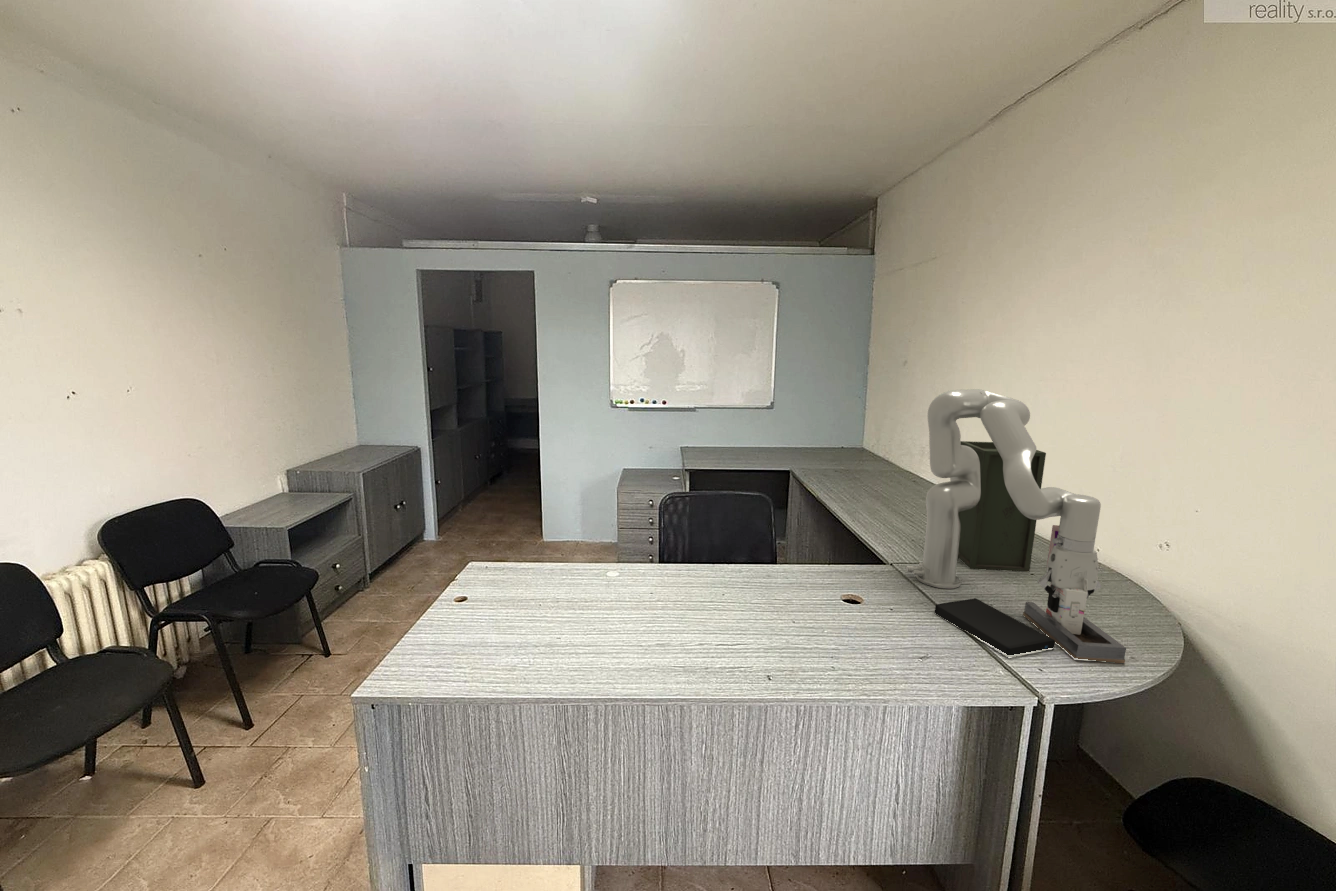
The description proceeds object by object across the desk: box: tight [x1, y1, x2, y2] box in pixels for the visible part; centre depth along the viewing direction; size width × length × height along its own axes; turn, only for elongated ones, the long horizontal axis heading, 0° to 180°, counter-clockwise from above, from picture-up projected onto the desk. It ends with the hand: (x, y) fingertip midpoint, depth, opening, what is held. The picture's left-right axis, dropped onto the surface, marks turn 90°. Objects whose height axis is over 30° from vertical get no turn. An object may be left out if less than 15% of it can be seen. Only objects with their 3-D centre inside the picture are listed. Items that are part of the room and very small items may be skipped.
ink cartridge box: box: [1045, 578, 1088, 635], centre depth 139 cm, size 9×5×15 cm, turn 169°
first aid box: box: [958, 440, 1047, 572], centre depth 185 cm, size 18×18×40 cm
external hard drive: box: [934, 597, 1056, 655], centre depth 141 cm, size 14×23×3 cm, turn 17°
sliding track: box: [1022, 601, 1127, 664], centre depth 137 cm, size 11×22×4 cm, turn 175°
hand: (1064, 609), depth 140 cm, fingers closed on ink cartridge box, 5 cm apart
